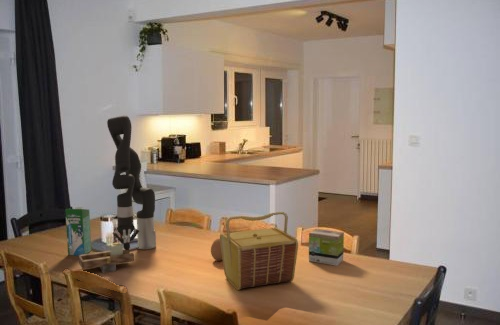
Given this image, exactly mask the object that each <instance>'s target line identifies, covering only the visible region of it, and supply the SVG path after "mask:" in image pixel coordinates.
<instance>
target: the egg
mask: <svg viewBox="0 0 500 325" xmlns="http://www.w3.org/2000/svg"><path fill="white" fill-rule="evenodd" d="M210 255H211V257H212V259H214V260H215V261H218V262H221V261H223V259H222V251H221V243H220V238H216V239H215V240H214V241H213V242H212V244H211V246H210Z"/></svg>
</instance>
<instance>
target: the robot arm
mask: <svg viewBox="0 0 500 325" xmlns="http://www.w3.org/2000/svg"><path fill="white" fill-rule="evenodd" d="M106 122H107V123H106V124H107V128H108V132H109V134H110V136H111V139H112V141H113V143H114V145H115V147H116V151H115V156H114V160H115V161H114V162H115V164H114V166H115V168H114V175H113V177H112V181H111V182H112V183H111V184H112V186H113V188H114V189H115V190H126V192H123V193H120V194H118V195H117V196H116V205H117V206H116V216H117V218H116V220H117V228H116V230H115V231H113V232H112V236H114V237H115V238H116V239H117V241H119V242H120V243H122V245H123V249H125V250H129V251H130V248H131V243H130V242H133V241H134V240H135V239H136V237H137V247H138V246H139V248H138V250H151V249H152V250H153V249H155V248H157V241H156V240H157V239H156V238H157V237H156V236H157V235H156V232H157V231H156V230H155V211H156V194H155V191H154V190H153V189H152V188H150V187H149V188H148V187H143V186H142V184H141V180H140V175H141V172H142V171H141V170H142V162H141V159H140V157H139V153H137V152H136V151H135V150H134V149H133V148H132V147H131V140H132V139H131V138H132V122H131V119H130V117H129V116H128V115H119V116H116V117H111V118H108V119H107V121H106ZM121 135H123V136H121ZM123 173H125V174H123ZM133 202H134V203H135V204H137V205H142V209H141V210H139V211H137V212H136V227H135V226H134V225H135V224H134V209H133ZM119 234H120V235H121V237H120V236H119Z"/></svg>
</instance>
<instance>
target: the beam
mask: <svg viewBox="0 0 500 325" xmlns="http://www.w3.org/2000/svg"><path fill="white" fill-rule="evenodd" d="M77 256H78V257H77V258H78V264H79V265H80V267H81V269H82V270H87V269H94V268H95V269H96V268H99V269H100V271H101V272H102V273H103V274H105V273H112V272H116V271H117V264H118V265H120V264H126V263H132V262H135V254H134V252H130V249H129V250H125V249H124V248H123V254H122V255H115V256H110V250H104V251H98V252H97V251H96V252H92V253H90V252H89V253H87V254H83V255H77Z"/></svg>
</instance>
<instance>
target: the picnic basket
mask: <svg viewBox="0 0 500 325" xmlns="http://www.w3.org/2000/svg"><path fill="white" fill-rule="evenodd" d="M277 215H283V216H284V224H283V226H284V227H283V230H282V229H280V228H278V227H276V226H275V227H269V228H261V229H260V228H259V229H250V230H244V231H235V232H230V221H232V220H236V219H237V220H238V219H242V220H244V221H263V220H266V219H270V218H271V217H273V216H277ZM288 219H289V217H288V214H287V213H285V212H284V211H279V212H272V213H268V214H264V215H262V216H261V215H260V216H243V215H239V216H230V217H228V218H227V219H226V221H225V230H226V232H225V233H220V234H219V239H220V243H221V251H222V259H223V260H222V265H223V273H224V276H225V278H226V280H227V281H228V282H229V283H230V284H231V285H232V286H233V287H234V288H235V289H236V290H237V291H240V290H242V289H247V288H252V287H253V288H254V287H260V286H266V285H272V284H273V285H274V284H280V283H284V282H285V283H286V282H290V283H291V282H293V281H294V279H295V273H296V266H297V258H298V257H297V256H298V250H299V241H298V239H297V238H296V237H295V236H293V235H291V234H289V233H288V222H289V221H288Z"/></svg>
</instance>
